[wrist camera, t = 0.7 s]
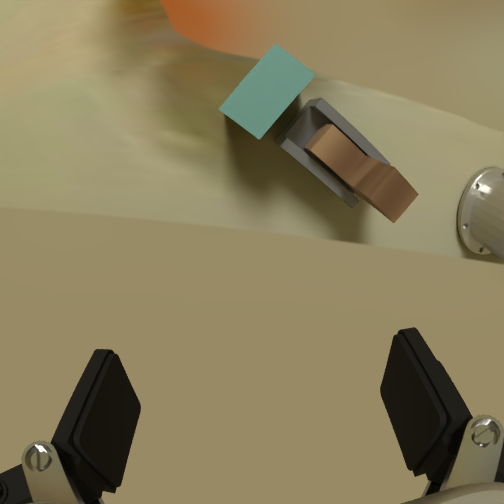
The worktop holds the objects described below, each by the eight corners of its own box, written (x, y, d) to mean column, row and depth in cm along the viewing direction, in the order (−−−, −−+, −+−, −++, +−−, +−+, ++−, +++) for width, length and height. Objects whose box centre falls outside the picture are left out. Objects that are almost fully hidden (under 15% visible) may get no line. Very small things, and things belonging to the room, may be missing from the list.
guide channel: (370, 155, 32) (390, 163, 28) (337, 194, 34) (352, 208, 29) (309, 99, 30) (321, 97, 25) (274, 141, 32) (280, 146, 27)
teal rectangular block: (298, 83, 29) (315, 74, 22) (255, 133, 31) (259, 140, 24) (267, 59, 28) (275, 43, 21) (223, 110, 30) (218, 109, 23)
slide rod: (374, 170, 30) (418, 194, 21) (355, 192, 31) (393, 223, 22) (324, 123, 28) (356, 128, 19) (303, 146, 29) (328, 161, 20)
